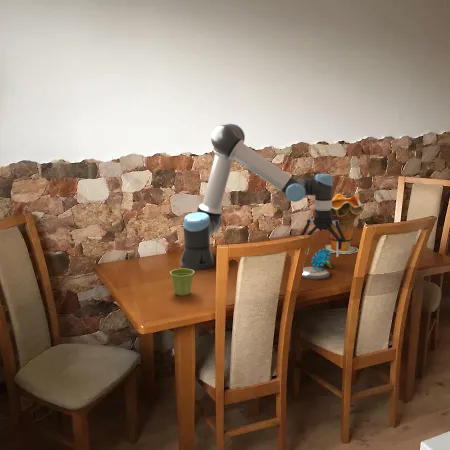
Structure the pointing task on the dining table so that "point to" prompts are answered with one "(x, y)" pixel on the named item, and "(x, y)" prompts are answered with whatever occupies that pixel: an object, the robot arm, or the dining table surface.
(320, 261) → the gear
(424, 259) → the dining table surface
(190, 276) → the plant pot
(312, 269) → the plate
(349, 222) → the decorative vase
